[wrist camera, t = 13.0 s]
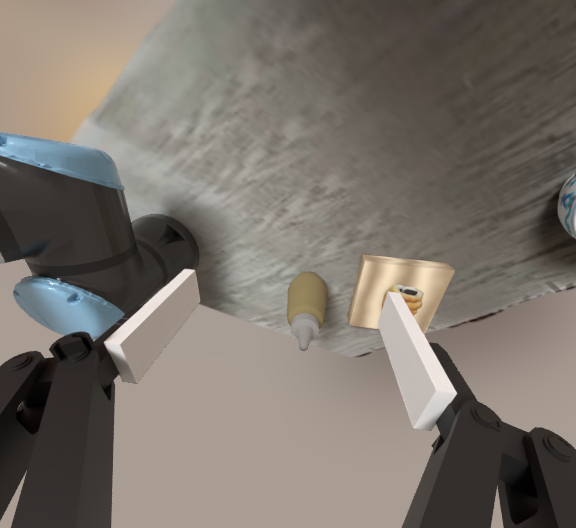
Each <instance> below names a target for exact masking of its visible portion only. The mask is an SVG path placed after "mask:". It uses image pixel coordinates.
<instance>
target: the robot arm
mask: <svg viewBox="0 0 576 528" xmlns="http://www.w3.org/2000/svg"><path fill="white" fill-rule="evenodd" d="M123 190H124V186H122V184H121V181H120V178H119V175H118V172H117V168H116V165H115V163H114V161H113V159H112V158H111V157H110V156H109V155H108V154H106V153H105V152H103V151H101V150H99V149H95V148H91V147H86V146H81V145H76V144H70V143H65V142H58V141H53V140H47V139H41V138H34V137H29V136H23V135H17V134H9V133H4V132H0V264H1V263H7V262H11V261H16V260H20V259H25V261H26V262H27V264H28V266H29V268H30V270H31V272H32V276H29V277H25V278H23V279H21V281H20V282H19V283H18V284H16V285H15V288H14V291H13V295H14V298H15V300H16V302H17V304H18V305H19V306H20V307H21V308H22V309H23V310H24V311H25V312H26V313H27V314H28V315H29V316H30V317H31V318H33V319H34V320H35V321H37V322H38V323H40V324H41V325H43V326H45V327H47V328H49V329H51V330H52V331H55V332H57V333H59V334H61V335H64V337H62V338H60V339H58V340H57V341H56V342H54V343H53V344H52V346H51V347H50V349H49V350H50V352H51V353H52V355H53V356H54V357H53V358H44V357H43V355H42V354H41V353H40V352H38V351H31V352H26V353H23V354H20V355H17V356H15V357H13V358H11V359H9V360H8V361H6V362H5V363H4V364H2V365H1V366H0V520H1V518H2V516H3V515H4V512H5V511H6V509H7V507H8V504H9V503H10V501H11V499H12V497H13V495H14V494H15V492H16V490H17V488H18V486H19V484H20V482H21V480H22V478H23V476H24V474H25V473H26V471H27V473H26V476H25V480H24V484H23V487H22V490H21V494H20V498H19V501H18V505H17V508H16V512H15V515H14V519H13V522H12V526H11V528H111V511H112V475H113V473H112V472H113V439H114V437H113V436H114V403H115V384H114V381H113V380H114V379H115V378H116V377H117V376H118V375H120V377H121V379H122V381H123V382H128V383H134V384H137V383H138V382H139V381H140V380H141V378H142V377H143V375H144V374H145V373H146V372H147V370H148V369H149V368H150V367H151V365H152V364H153V363H154V361H155V360H156V359H157V357H158V356H159V354H160V353H161V352H162V351H163V349H164V348H165V347H166V346H167V344H168V343H169V342H170V341H171V339H172V338H173V336H174V335H175V334H176V333H177V331H178V330H179V329H180V328H181V326H182V325H183V324H184V322H185V321H186V320H187V318H188V317H189V316H190V314H191V313H192V312H193V310H194V309H195V308H196V307H197V305H198V304H199V303H200V302H201V301H200V295H199V289H198V283H197V277H196V271H195V270H194V269H195V268H196V266H197V263H198V259H199V252H198V247H197V244H196V242H195V240H194V238H193V236H192V235H191V234H190V232H189V231H188V230H187V229H186V228H185V227H184V226H183V225H182V224H181V223H179V222H178V221H176V220H174V219H173V218H170V217H168V216H165V215H161V214H150V215H146V216H143V217H141V218H138V219H136V220H135V221H133V222H132V223H131V220H130V217H129V212H128V208H127V204H126V199H125V195H124V191H123ZM164 286H165V287H164ZM162 287H164V288H163V289H162V290H161V291H160V292H159V293H158V294H156V293H157V292H158V291H159V290H160V289H161V288H162ZM155 294H156V295H155ZM154 295H155V296H154ZM153 296H154V297H153ZM152 297H153V298H152ZM151 298H152V299H151ZM149 299H151V300H150V301H149V302H148V303H146V302H147V301H148V300H149ZM145 303H146V305H144V304H145ZM143 305H144V306H143ZM378 326H379V329H380V332H381V335H382V338H383V341H384V344H385V347H386V349H387V353H388V355H389V359H390V362H391V365H392V367H393V371H394V374H395V377H396V379H397V382H398V385H399V388H400V391H401V394H402V397H403V400H404V403H405V406H406V409H407V412H408V415H409V418H410V421H411V423H412V426H413V428H416V429H422V430H429V431H431V430H432V429H433V427H434V426H435V425H436V424H437V427H438V429H439V431H440V435H439V437H438V438H437V439H436V440H435V442H434V443H433V445H432V447H433V451H432V453H431V456H430V458H429V461H428V463H427V466H426V468H425V471H424V473H423V476H422V478H421V481H420V483H419V486H418V488H417V491H416V493H415V496H414V498H413V501H412V503H411V506H410V508H409V511H408V513H407V516H406V518H405V521H404V523H403V526H402V528H491V521H492V515H493V509H494V502H495V496H496V489H497V485H498V492H499V498H500V506H501V512H502V519H503V526H504V528H576V449H574V447H573V446H572V445H571V444H569V443H568V442H567V441H566V440H564V439H563V438H562V437H560V436H559V435H557V434H555V433H554V432H552V431H550V430H547V429H544V428H536V427H535V428H534V429H532V430H531V431H530V432H529V433H528V432H526V431H523V430H521V429H518V428H516V427H514V426H511V425H509V424H507V423H504V422H502V421H501V419H500V418H499V417H498V416H497V415H496V414H495V412H494V411H492V410H491V409H490V408H488V407H487V406H486V405H484V404H482V403H480V402H478V401H477V399H476V398H475V396H474V395H473V393H472V391H471V390H470V388H469V387H468V385H467V383H466V382H465V380H464V379H463V377H462V376H461V374H460V372H459V371H457V368H456V366H455V364H454V363H453V362H452V360H451V358H450V357H449V355H448V353H447V352H446V351H445V350H444V349H443V348H442V347H441V346H440V345H439V344H437V343H429V342H428V341H427V340H426V338H425V336H424V334H423V332H422V331H421V329H420V327H419V325H418V324H417V322H416V320H415V318H414V317H413V315H412V313H411V311H410V310H409V308H408V306H407V304H406V303H405V301H404V299H403V297H402V295H401V294H400V293H396V292H388V293H387V296H386V299H385V302H384V305H383V308H382V311H381V314H380V317H379V320H378ZM93 340H95V341H94V342H93ZM20 404H21V405H20ZM19 405H20V406H19ZM18 407H19V408H18Z"/></svg>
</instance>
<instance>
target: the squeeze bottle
mask: <svg viewBox="0 0 576 528" xmlns="http://www.w3.org/2000/svg"><path fill="white" fill-rule="evenodd" d="M326 301H327V288H326V286H325V284H324V282H323V281H322V280H321V278H320V277H319V276H318V275H317V274H315V273H313V272H303V273H301V274H299V275H298V276H297V277H296V278H295V279H294V280H293V281H292V282H291V283H290V286H289V288H288V308H287V319H288V323H289V324H290V326H291V332H292V333H293V335H294V336H295V337H297V338H298V341H299V347H300V350H302V351H306V350H307V349H308V345H309V343H310V340H311V339H313V338H315V337H316V336H317V335H318V333H319V329H320V328H321V327H322V325H323V324H324V320H325V311H326Z"/></svg>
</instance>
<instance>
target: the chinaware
mask: <svg viewBox="0 0 576 528" xmlns="http://www.w3.org/2000/svg"><path fill="white" fill-rule="evenodd" d="M558 217H559V220H560V222H561V224H562V226H563V227H564V228H565V230H566V231H567V232H568V233H569V234H570V235H571V236H572V237H574V238H575V239H576V173H575V174H574V175H573V176H571V177H570V178H569V179H568V180H567V181H566V183H565V184H564V185H563V187H562V189H561V191H560V194H559V201H558Z"/></svg>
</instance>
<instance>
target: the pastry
mask: <svg viewBox="0 0 576 528" xmlns="http://www.w3.org/2000/svg"><path fill="white" fill-rule="evenodd" d="M388 292H396V293H400V294H401V295H402V297H403V299H404V301H405V303H406V304H407V306H408V308H409V310H410V311H411V313H412V315H415V314H417V309H418V308H421V307H422V298H423V295H424V293H423V292H422V291H421V290H418V289H417V288H414V287H404V286H402V285H395V286H393V287H391V288H390V289H388V290H387V291H386V292H385V295H384V296H383V302H382V308H383V305H384V302H385V299H386V296H387V293H388Z"/></svg>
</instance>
